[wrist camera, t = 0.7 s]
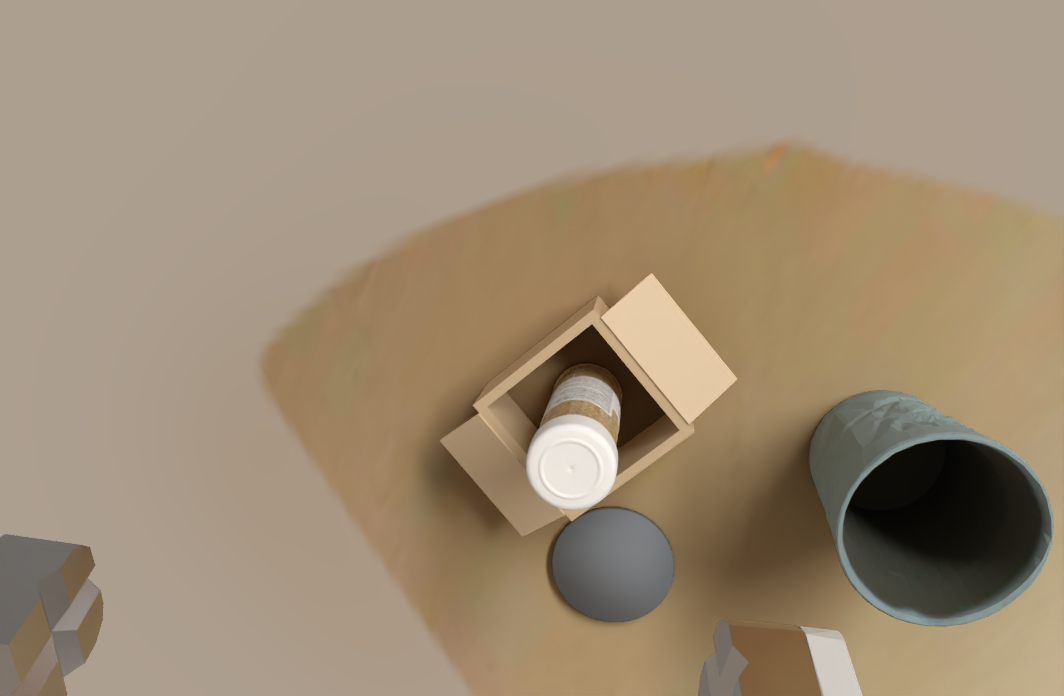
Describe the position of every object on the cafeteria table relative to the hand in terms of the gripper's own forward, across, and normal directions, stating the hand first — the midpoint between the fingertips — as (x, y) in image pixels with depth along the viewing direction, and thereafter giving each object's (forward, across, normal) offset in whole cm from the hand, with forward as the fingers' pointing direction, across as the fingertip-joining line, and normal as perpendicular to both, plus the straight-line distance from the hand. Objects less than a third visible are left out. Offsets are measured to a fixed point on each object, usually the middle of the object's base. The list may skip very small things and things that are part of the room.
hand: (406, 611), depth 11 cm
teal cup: (+36, +24, -23) cm, 49 cm away
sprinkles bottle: (+38, +6, -23) cm, 45 cm away
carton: (+38, +6, -23) cm, 45 cm away
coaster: (+34, +9, -33) cm, 48 cm away
